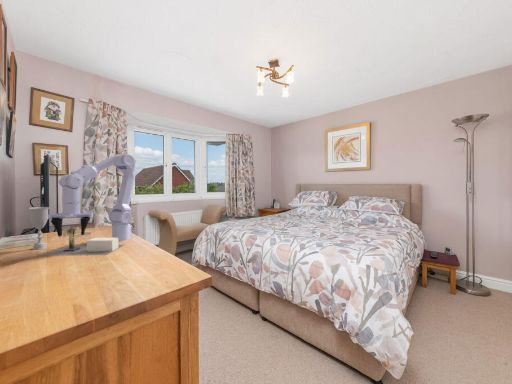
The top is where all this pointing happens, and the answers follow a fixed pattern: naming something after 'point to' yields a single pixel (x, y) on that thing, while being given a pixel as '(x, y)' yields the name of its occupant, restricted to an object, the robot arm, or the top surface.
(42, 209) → the chalice
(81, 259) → the top surface
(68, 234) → the t key
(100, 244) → the cover
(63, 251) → the plate
